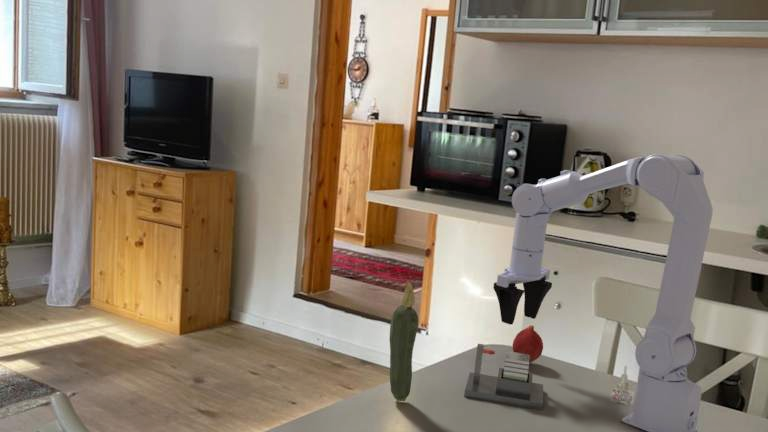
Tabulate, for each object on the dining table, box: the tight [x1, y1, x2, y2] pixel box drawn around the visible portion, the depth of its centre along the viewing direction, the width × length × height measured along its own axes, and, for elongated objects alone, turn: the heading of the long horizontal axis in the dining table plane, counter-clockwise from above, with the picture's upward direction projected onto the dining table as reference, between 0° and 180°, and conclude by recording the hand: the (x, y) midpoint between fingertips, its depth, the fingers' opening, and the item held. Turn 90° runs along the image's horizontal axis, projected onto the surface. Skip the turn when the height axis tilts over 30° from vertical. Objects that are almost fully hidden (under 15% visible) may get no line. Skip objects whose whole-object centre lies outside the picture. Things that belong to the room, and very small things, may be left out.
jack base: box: [463, 343, 544, 411], centre depth 127 cm, size 13×9×8 cm
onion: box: [512, 324, 544, 364], centre depth 144 cm, size 6×6×8 cm
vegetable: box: [389, 280, 419, 403], centre depth 118 cm, size 4×4×20 cm
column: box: [503, 350, 530, 382], centre depth 127 cm, size 4×4×6 cm
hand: (518, 320), depth 138 cm, fingers open, 7 cm apart
